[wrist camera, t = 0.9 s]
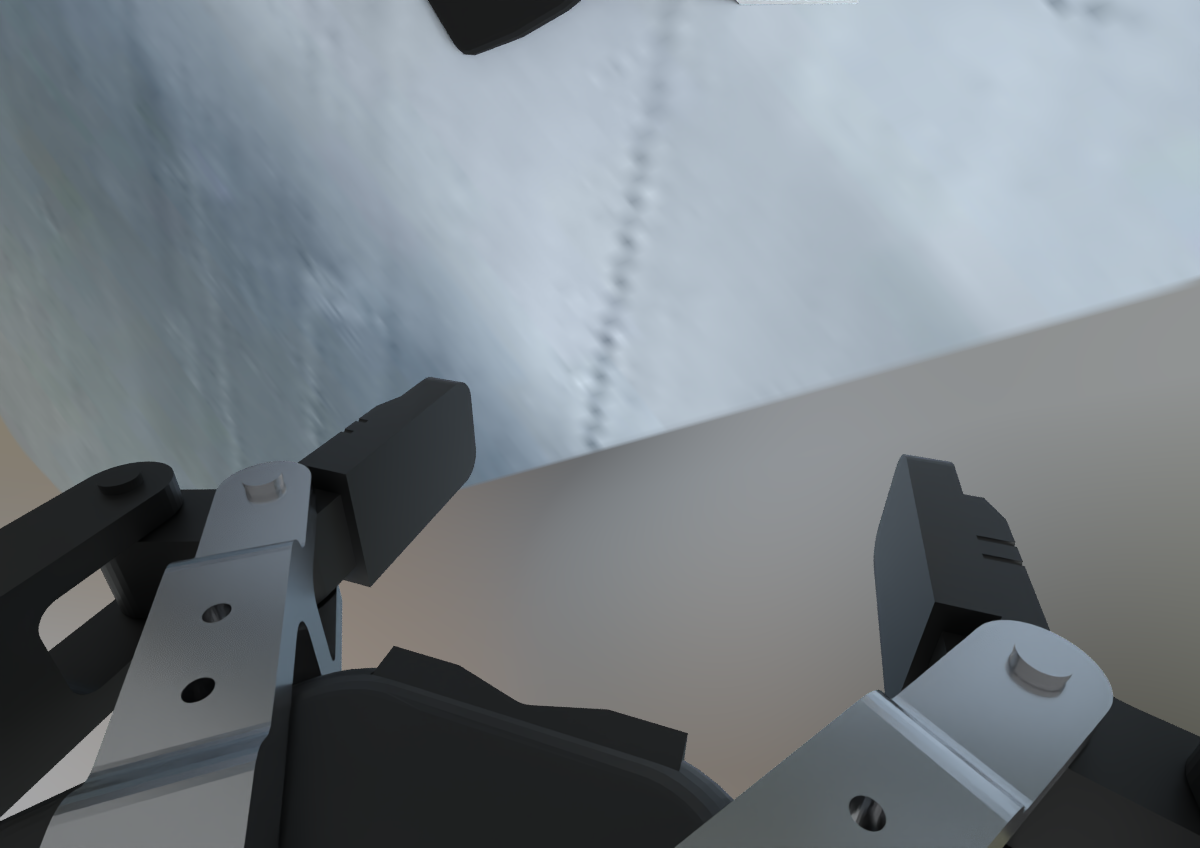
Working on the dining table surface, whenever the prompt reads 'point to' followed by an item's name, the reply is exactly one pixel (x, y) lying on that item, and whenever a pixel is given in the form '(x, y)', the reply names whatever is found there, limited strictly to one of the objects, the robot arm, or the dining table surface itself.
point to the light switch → (494, 20)
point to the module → (795, 2)
